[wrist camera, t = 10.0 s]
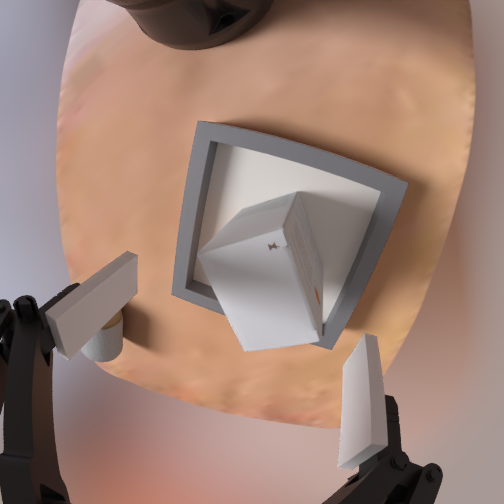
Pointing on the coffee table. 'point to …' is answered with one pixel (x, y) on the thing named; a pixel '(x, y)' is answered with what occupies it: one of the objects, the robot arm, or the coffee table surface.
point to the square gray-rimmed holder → (278, 184)
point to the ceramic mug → (106, 341)
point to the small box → (268, 275)
